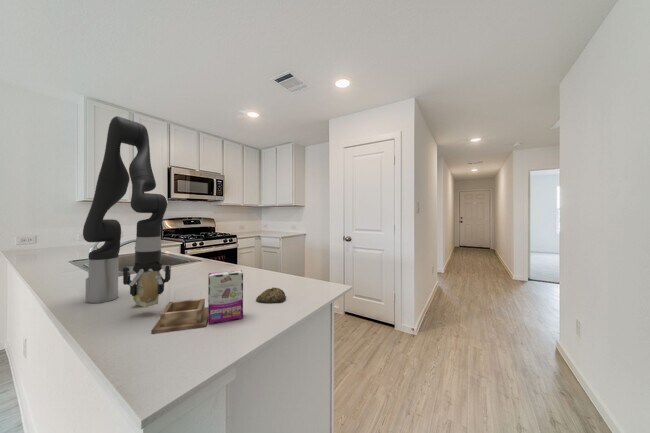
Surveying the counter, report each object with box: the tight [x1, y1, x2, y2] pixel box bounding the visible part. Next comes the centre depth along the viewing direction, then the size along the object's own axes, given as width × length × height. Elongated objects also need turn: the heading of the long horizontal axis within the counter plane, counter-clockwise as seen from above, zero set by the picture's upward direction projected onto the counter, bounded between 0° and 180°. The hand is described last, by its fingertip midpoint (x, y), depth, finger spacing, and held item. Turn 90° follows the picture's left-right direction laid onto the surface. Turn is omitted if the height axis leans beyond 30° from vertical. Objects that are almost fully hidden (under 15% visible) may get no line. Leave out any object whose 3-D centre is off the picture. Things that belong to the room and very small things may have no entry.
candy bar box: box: [207, 269, 244, 325], centre depth 85 cm, size 11×5×16 cm, turn 117°
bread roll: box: [255, 287, 287, 304], centre depth 107 cm, size 13×12×5 cm
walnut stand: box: [150, 298, 208, 335], centre depth 83 cm, size 15×15×5 cm
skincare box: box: [135, 270, 161, 308], centre depth 87 cm, size 6×4×12 cm
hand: (147, 294), depth 87 cm, fingers closed on skincare box, 7 cm apart
